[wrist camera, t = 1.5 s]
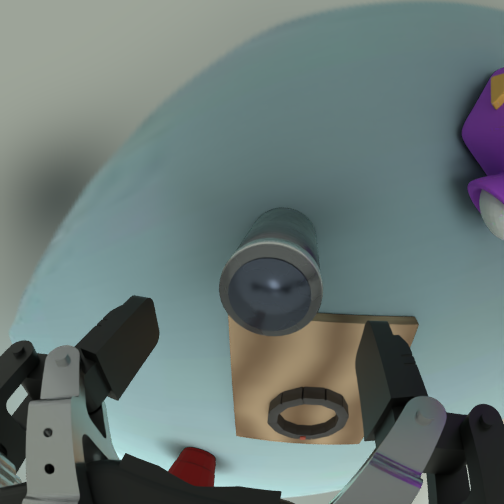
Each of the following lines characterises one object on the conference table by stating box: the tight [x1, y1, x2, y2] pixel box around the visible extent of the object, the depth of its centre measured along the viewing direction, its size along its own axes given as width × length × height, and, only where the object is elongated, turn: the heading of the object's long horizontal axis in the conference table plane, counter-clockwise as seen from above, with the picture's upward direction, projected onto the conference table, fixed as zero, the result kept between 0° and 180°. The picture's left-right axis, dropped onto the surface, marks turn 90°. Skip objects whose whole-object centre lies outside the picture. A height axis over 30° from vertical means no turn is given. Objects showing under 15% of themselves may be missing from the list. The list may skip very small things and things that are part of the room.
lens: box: [219, 208, 323, 336], centre depth 16 cm, size 5×5×8 cm
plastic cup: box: [168, 447, 216, 487], centre depth 30 cm, size 11×11×12 cm
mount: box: [228, 313, 419, 444], centre depth 24 cm, size 16×20×3 cm
